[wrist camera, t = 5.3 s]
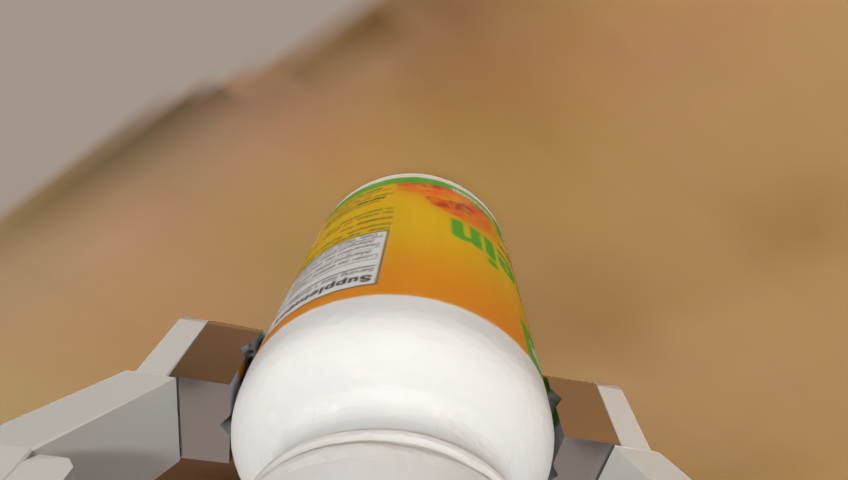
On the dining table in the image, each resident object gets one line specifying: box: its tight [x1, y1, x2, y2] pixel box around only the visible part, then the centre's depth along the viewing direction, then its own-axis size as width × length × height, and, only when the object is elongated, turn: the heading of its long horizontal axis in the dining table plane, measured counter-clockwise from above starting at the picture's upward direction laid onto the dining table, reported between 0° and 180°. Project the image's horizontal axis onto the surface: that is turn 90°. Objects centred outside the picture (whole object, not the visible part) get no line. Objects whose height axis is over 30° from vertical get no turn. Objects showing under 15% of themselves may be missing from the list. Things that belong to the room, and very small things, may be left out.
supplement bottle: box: [231, 173, 555, 480], centre depth 10 cm, size 5×5×10 cm
